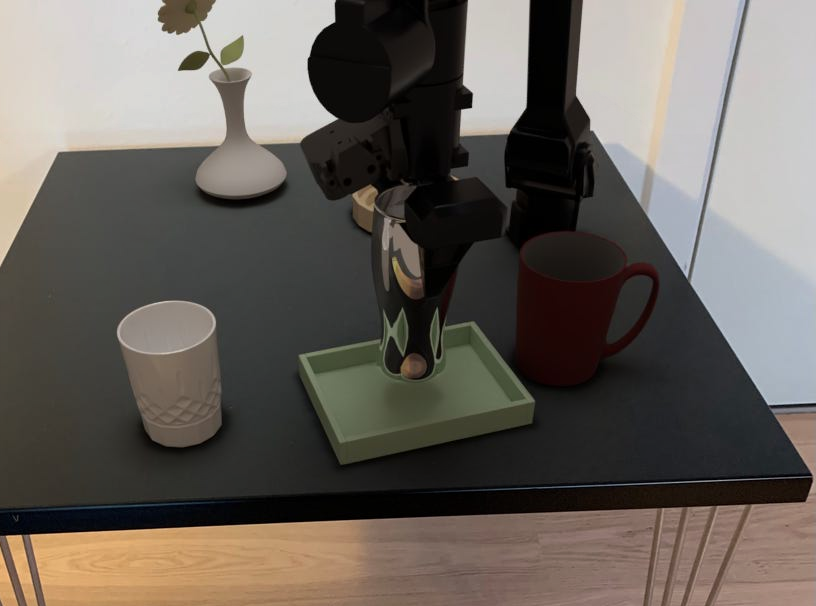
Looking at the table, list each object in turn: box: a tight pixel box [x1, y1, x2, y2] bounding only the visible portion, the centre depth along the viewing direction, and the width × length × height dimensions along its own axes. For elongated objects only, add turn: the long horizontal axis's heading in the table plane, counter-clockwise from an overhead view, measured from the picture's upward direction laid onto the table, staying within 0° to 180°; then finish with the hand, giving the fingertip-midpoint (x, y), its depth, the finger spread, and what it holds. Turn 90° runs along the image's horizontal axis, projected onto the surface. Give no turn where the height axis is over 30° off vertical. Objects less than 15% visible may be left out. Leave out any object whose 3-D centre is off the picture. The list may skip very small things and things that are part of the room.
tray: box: [298, 320, 536, 466], centre depth 80 cm, size 17×13×2 cm
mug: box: [514, 231, 660, 387], centre depth 80 cm, size 12×9×11 cm
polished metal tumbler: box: [370, 183, 460, 384], centre depth 73 cm, size 7×7×15 cm
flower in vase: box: [157, 0, 288, 200], centre depth 105 cm, size 13×11×25 cm
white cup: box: [116, 300, 223, 448], centre depth 75 cm, size 8×8×10 cm
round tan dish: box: [352, 174, 460, 234], centre depth 106 cm, size 13×13×3 cm
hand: (415, 274), depth 72 cm, fingers closed on polished metal tumbler, 7 cm apart
